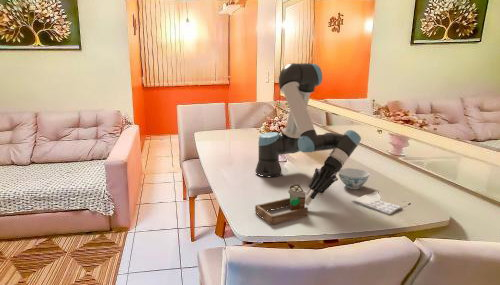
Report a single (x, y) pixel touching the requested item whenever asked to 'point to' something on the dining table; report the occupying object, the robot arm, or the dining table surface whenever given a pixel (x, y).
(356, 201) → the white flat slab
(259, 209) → the caddy
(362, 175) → the chinaware
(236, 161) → the dining table surface
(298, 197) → the food container
